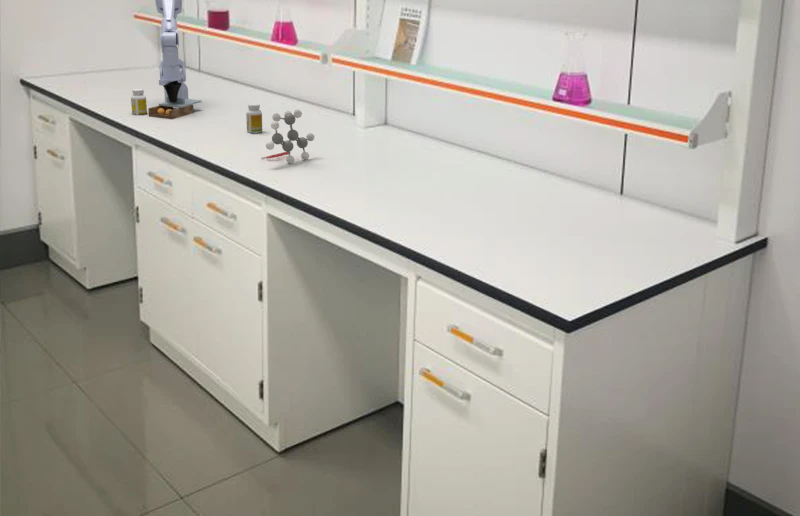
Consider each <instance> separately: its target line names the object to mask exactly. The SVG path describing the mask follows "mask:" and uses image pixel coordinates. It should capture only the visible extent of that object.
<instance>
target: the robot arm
mask: <svg viewBox="0 0 800 516" xmlns="http://www.w3.org/2000/svg"><path fill="white" fill-rule="evenodd" d="M155 6H156V11H157V13H158V14H160V15H162V16H163V18H162V19H161V23H160V25H161V26H160V29H161V30H160V31H161V33H160V34H159V39H160V40H159V41H160V47H161V48H160V49H161V53H162V60H161V61H160V63H159V80H158V85H159V86H162V87H163V89H164V102H167V97H168V98H169V101H170V102H173V103H175V102H176V101H177V98H184V99H189V88H188V85H187V84H186V81H187V78H186V77H187V74H186V73H187V72H186V64H185V62H184V61H183V60H182V59H180V57H179V46H180V37H179V32H178V21H177V17H178V15H180V14H181V13H182V10H183V0H155Z"/></svg>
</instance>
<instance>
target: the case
mask: <svg viewBox="0 0 800 516" xmlns="http://www.w3.org/2000/svg"><path fill="white" fill-rule="evenodd" d="M159 108H162V109H164V110H165V112H166V110H168V109H171V110H170V111H169V115H166V113H165V114H164V115H161V114H158V113H157V110H158V109H159ZM147 112H148V117H150V118H159V119H166V120H167V119H168V120H174V119H177V118H181V117H184V116H188V115H190V114H194V104H193V105H189V106H186V107H182V108H178V107H169V106H160V105H159V104H158V105H156V106H152V107H151V106H150V107H147Z"/></svg>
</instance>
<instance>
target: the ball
mask: <svg viewBox="0 0 800 516" xmlns="http://www.w3.org/2000/svg"><path fill="white" fill-rule="evenodd" d="M157 113H158V114H161V115H164V114H165V110H164V109H162V108H159V109H158V110H157Z"/></svg>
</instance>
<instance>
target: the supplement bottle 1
mask: <svg viewBox="0 0 800 516" xmlns="http://www.w3.org/2000/svg"><path fill="white" fill-rule="evenodd" d="M144 92H145V91H144V88H132V94H133V95H131V97H130V104H131V113H132V115H133V116H145V115H148V107H147V97H146V95H145V94H144Z"/></svg>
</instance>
